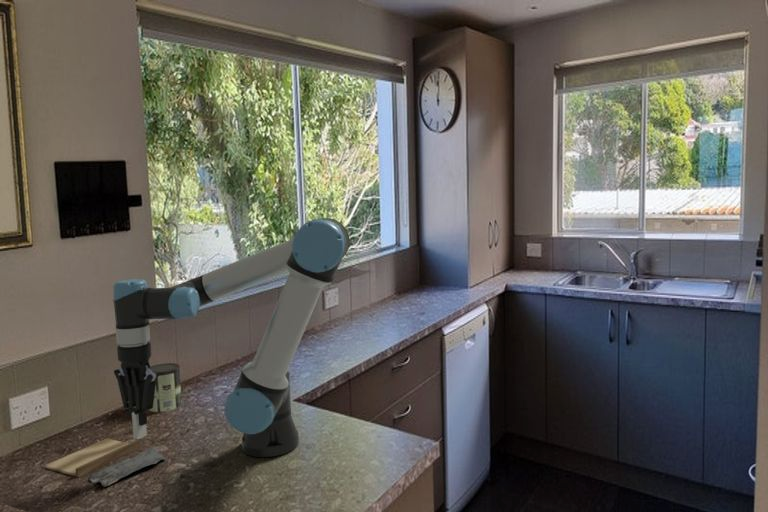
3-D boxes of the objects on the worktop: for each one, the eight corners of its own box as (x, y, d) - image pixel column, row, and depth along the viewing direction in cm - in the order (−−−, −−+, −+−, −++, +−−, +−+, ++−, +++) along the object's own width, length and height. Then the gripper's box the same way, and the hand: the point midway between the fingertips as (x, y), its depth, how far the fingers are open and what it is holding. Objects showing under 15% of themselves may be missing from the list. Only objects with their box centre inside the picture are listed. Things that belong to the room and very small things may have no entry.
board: (139, 448, 155) (139, 440, 155) (78, 477, 139) (78, 469, 139) (106, 440, 161) (106, 433, 161) (44, 467, 145) (44, 460, 145)
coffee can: (168, 402, 191) (166, 361, 190) (189, 408, 185) (186, 365, 184) (141, 412, 182) (138, 369, 181) (161, 418, 177) (158, 373, 175)
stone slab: (150, 445, 153) (172, 452, 147) (151, 452, 153) (173, 459, 147) (82, 474, 138) (104, 483, 132) (83, 482, 138) (105, 491, 133)
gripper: (165, 342, 140) (171, 435, 142) (128, 337, 145) (134, 427, 148) (140, 349, 133) (146, 447, 135) (102, 344, 139) (108, 438, 141)
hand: (140, 436), depth 141 cm, fingers closed
